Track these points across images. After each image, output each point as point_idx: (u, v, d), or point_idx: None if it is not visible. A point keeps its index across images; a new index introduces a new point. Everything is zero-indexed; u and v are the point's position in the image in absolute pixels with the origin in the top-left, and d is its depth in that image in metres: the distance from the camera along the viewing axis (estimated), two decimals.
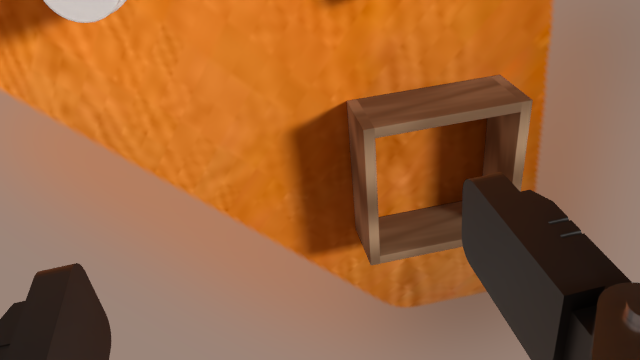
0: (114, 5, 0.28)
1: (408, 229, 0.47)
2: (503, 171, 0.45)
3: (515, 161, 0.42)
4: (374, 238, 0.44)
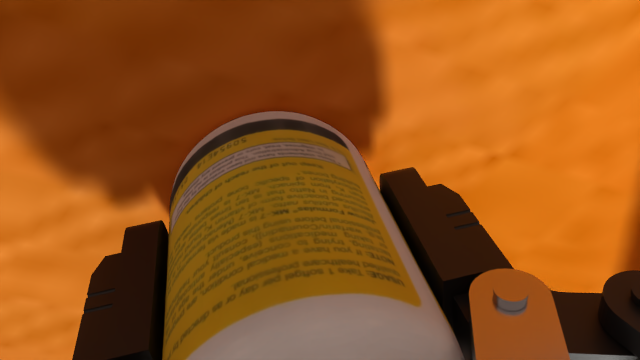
0: None
1: None
2: None
3: None
4: None
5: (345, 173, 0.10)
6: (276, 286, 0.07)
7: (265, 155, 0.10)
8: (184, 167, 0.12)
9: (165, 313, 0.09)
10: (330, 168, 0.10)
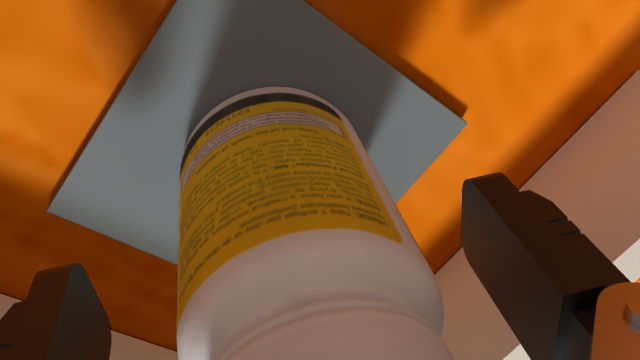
0: None
1: None
2: None
3: None
4: None
5: (338, 137, 0.12)
6: (276, 223, 0.09)
7: (267, 122, 0.12)
8: (193, 136, 0.13)
9: (179, 257, 0.10)
10: (325, 133, 0.11)
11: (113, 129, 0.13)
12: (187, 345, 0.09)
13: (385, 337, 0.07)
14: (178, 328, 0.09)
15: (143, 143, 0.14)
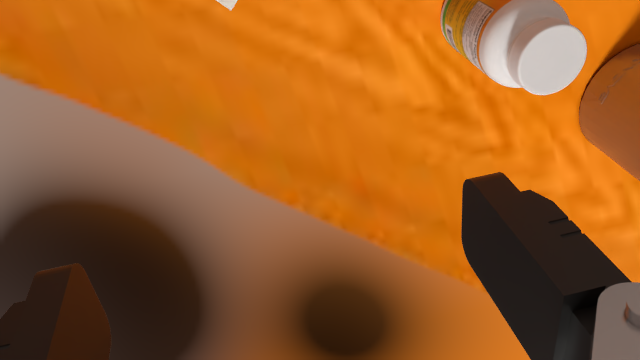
0: None
1: None
2: None
3: None
4: None
5: None
6: None
7: None
8: None
9: None
10: None
11: None
12: None
13: None
14: None
15: None
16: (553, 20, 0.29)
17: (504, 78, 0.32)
